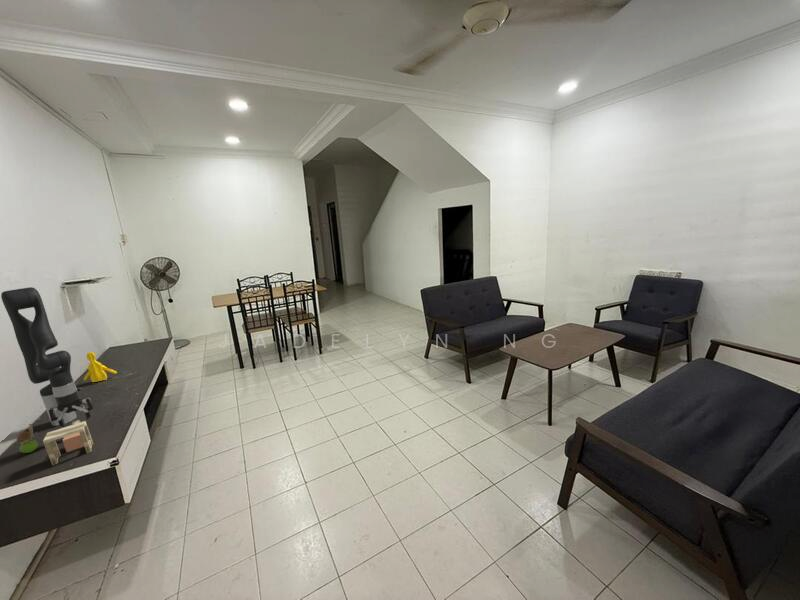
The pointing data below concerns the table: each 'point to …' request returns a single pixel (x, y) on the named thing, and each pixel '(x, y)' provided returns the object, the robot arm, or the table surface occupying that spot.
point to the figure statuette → (96, 369)
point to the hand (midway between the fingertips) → (76, 422)
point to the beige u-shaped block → (63, 432)
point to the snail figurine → (27, 441)
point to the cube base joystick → (73, 440)
